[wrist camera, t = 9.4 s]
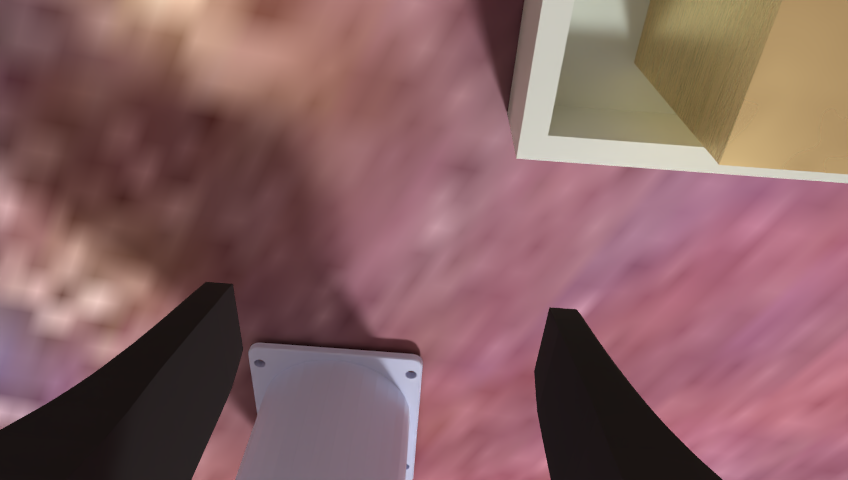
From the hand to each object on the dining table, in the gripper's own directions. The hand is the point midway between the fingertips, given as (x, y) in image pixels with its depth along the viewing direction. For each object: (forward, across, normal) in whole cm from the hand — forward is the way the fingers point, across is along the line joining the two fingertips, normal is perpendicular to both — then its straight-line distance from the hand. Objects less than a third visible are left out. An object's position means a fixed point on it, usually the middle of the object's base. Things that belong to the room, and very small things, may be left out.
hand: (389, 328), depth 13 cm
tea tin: (+8, -9, -6) cm, 14 cm away
